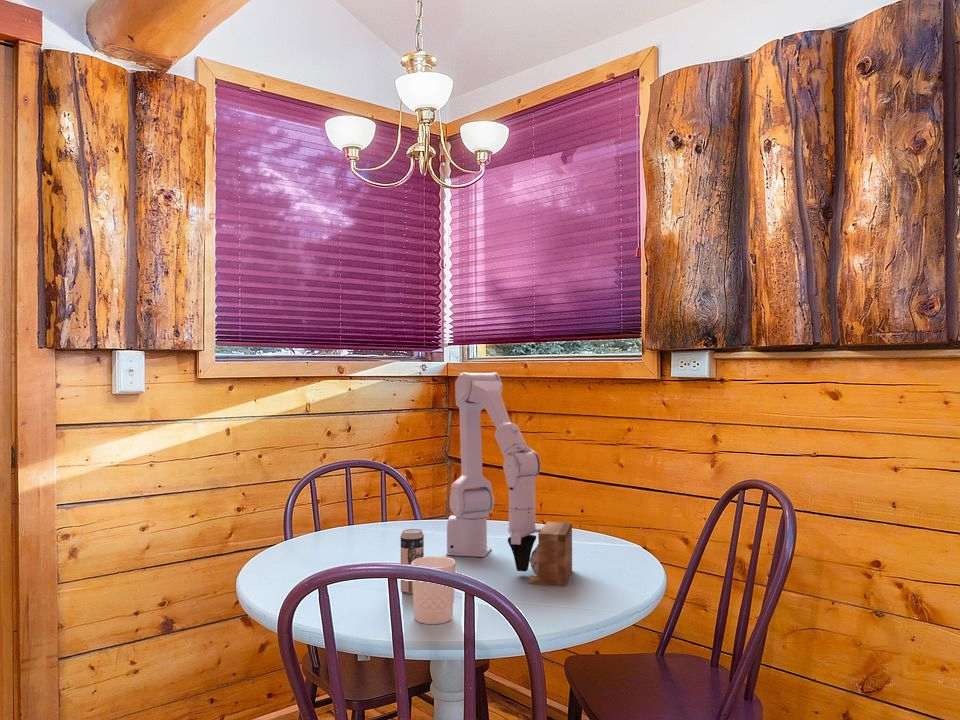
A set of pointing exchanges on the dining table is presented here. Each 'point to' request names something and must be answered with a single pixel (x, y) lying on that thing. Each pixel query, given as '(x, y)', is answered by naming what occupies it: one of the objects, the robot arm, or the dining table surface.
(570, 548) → the upright wooden block
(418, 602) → the pink cup
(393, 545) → the dining table surface
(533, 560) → the pink clay lump
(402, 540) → the beer can
